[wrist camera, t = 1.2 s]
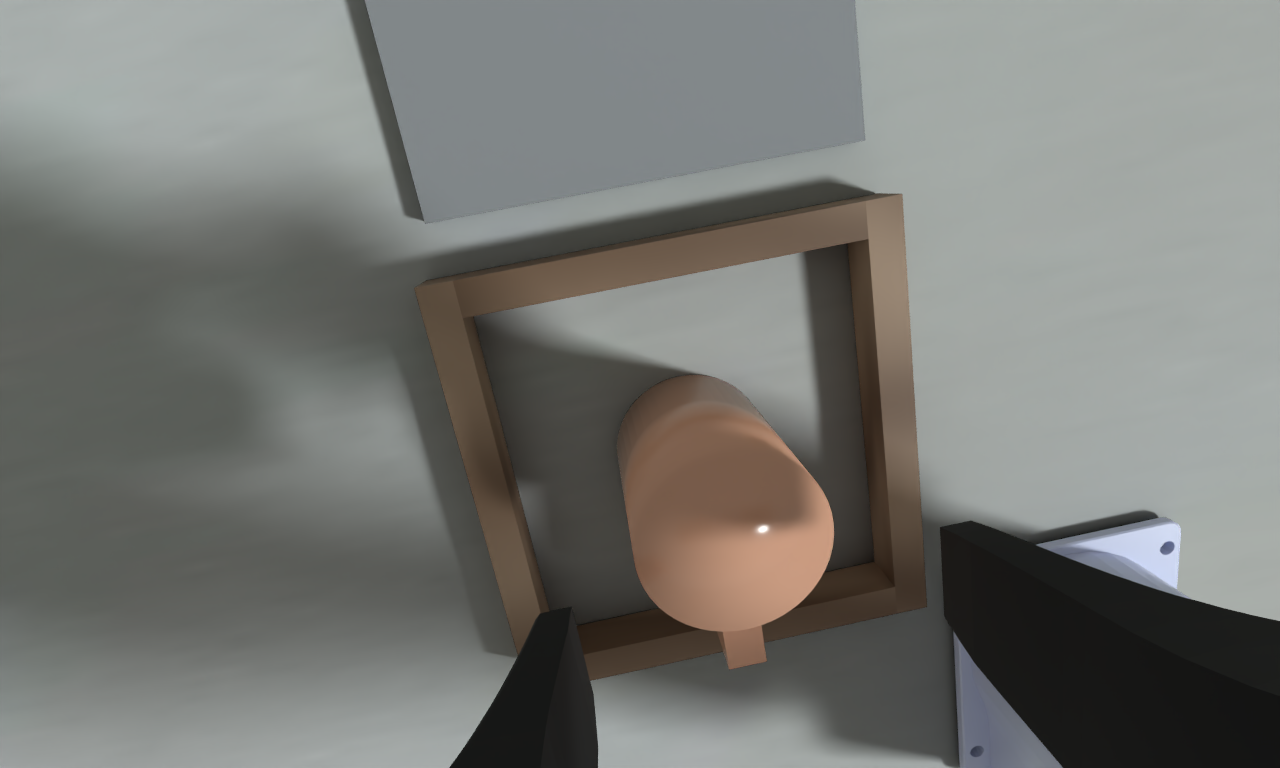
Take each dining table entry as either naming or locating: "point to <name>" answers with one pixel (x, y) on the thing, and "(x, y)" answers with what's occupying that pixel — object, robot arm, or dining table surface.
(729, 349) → the dining table surface
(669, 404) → the peach rounded block
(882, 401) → the frame
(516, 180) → the grey mat
